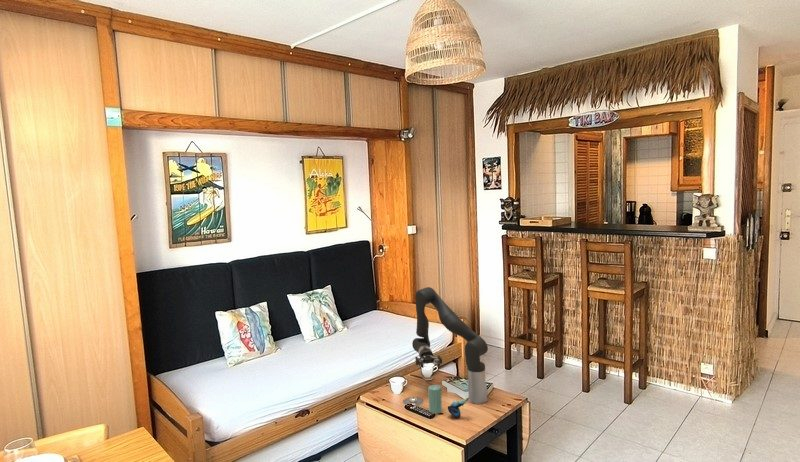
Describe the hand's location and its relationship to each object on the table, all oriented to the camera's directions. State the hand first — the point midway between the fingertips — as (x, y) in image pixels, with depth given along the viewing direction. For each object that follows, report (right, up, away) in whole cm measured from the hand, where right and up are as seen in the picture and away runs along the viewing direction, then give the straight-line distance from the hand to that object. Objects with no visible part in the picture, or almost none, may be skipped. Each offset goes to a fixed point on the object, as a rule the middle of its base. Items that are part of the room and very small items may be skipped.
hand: (430, 365), depth 257 cm
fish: (+12, -22, -16) cm, 30 cm away
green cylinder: (+2, -21, -9) cm, 23 cm away
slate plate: (-9, -21, +3) cm, 23 cm away
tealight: (-9, -20, +3) cm, 22 cm away
